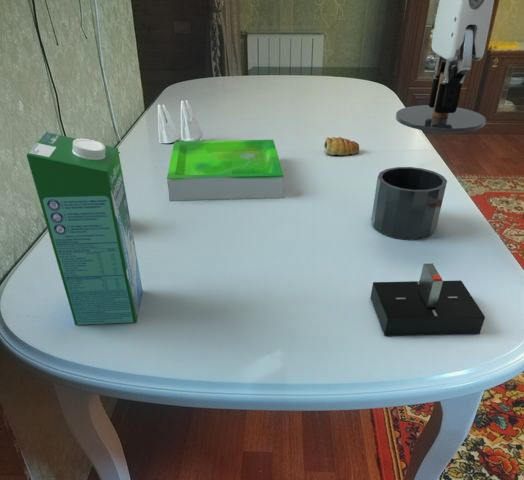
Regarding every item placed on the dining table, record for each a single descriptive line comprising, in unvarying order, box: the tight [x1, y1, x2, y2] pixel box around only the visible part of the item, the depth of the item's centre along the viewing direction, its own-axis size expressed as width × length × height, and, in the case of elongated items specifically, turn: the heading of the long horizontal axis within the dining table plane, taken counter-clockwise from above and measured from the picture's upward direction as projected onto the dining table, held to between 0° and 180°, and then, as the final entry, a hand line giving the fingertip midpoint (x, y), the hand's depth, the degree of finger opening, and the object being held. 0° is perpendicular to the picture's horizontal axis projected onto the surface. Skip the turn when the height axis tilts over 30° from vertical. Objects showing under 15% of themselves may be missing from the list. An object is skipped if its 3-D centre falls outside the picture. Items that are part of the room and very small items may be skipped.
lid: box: [395, 72, 487, 134], centre depth 78 cm, size 14×14×7 cm
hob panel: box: [370, 279, 486, 337], centre depth 76 cm, size 14×10×3 cm
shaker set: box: [157, 99, 204, 145], centre depth 139 cm, size 12×4×11 cm, turn 81°
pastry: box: [323, 136, 360, 156], centre depth 135 cm, size 9×7×4 cm
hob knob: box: [418, 262, 444, 308], centre depth 74 cm, size 5×1×5 cm, turn 2°
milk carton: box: [26, 131, 143, 326], centre depth 71 cm, size 9×9×25 cm
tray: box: [166, 139, 285, 202], centre depth 120 cm, size 25×25×5 cm
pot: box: [370, 166, 448, 241], centre depth 98 cm, size 13×13×10 cm
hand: (441, 108), depth 79 cm, fingers closed on lid, 2 cm apart
